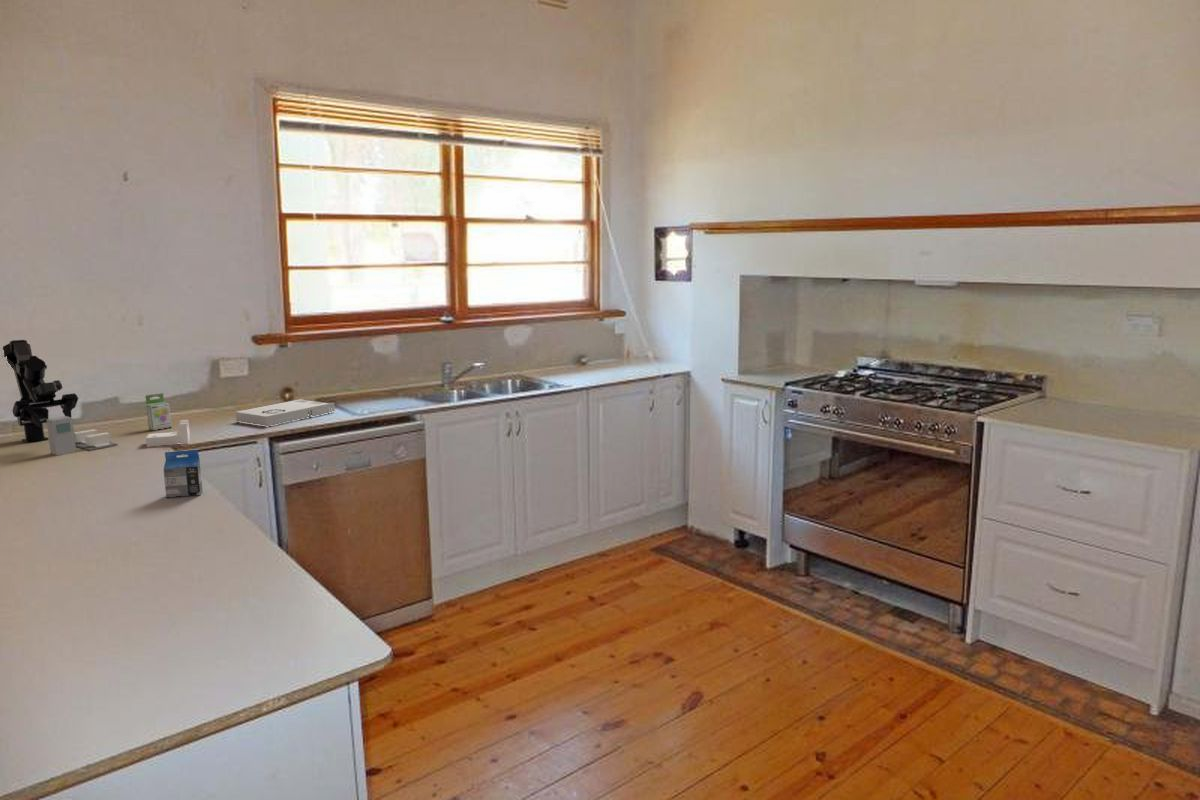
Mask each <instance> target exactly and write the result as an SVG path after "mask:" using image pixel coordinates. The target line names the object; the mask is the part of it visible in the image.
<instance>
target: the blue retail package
mask: <svg viewBox="0 0 1200 800" xmlns="http://www.w3.org/2000/svg"><path fill="white" fill-rule="evenodd" d="M182 455H183V456H182ZM164 456H165V457H164V458H165V462H164V464H163V465H164V467H163V477H164V486H165V487H164V488H165V497H170V498H179V497H178V496H181V497H190V496H191V495H193V496H200V494H201V495H202V494H203V480H202V472H201V462H200V461H201V459H200V454H199V450H198V449H191V450H178V451H165V452H164ZM177 456H179V457H177ZM176 496H177V497H176ZM191 497H192V496H191Z"/></svg>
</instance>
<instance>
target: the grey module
mask: <svg viewBox="0 0 1200 800" xmlns="http://www.w3.org/2000/svg"><path fill="white" fill-rule="evenodd" d="M46 420H47V423H46V426H47V434H48V435H47V436H48V438H49V439H48V441H49V449H50V454H51V453H52V454H51V455H53V454H55V455H54V456H56V455H59V456H61V455H60V454H64V455H66V454H65V453H69V454H71V453H70V452H74V453H77V447H76V445H75V438H74V423H73V417H72V416H71V417H67V416H65V415H64V416H58V417H52V418H49V419H46Z"/></svg>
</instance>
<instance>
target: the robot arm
mask: <svg viewBox="0 0 1200 800" xmlns="http://www.w3.org/2000/svg"><path fill="white" fill-rule="evenodd" d="M31 347H32V346H31V344H30V343H28V341H27V340H26V339H18V340H17V339H15V340H14V339H13V340H10V341H9V343H7V344H5V345H4V346H2V349H3V350H4V357H6V356H7V361H8V363H9V364H10V365H11V367H12V368H13V369H12V368H11V369H12V370H13V372H14V376H15V380H16V383H17V387H18V391H19V396H20V399H19V400H16V401H15V402H14V404H13V407H12V409H11V410H12V414H13V416H14V417H15V418H16V419H17V425H18V426H20V427H22V426H23V430H24V438H22V439H21V441H22V442H25V443H34V442H40V441H46V440H45V439H47V440H49V437H47V436H45V430H44V424H45V423H46V424H47V420H46V419H50V418H49V412H50V411H49V409H48V408H54V407H60V408H61V409H62V413H63V415H64V416H67V417H71V418H72V410H74V409H75V408H76V406H77V403H78V401H79V397H78V395H77V394H76V393H73V392H72V393H65V394H62V397H61V398H60V399H55V398H56V397H57V395H56V393H57V392H58V391H61V390H62V389H63V385H62V382H61V381H60V380H52V382H45V380H44V378H45V375H46V369H48V365H46V362H45V361H44V360H43V359H41V358H39V356H37V355H33V354H32V348H31Z"/></svg>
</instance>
